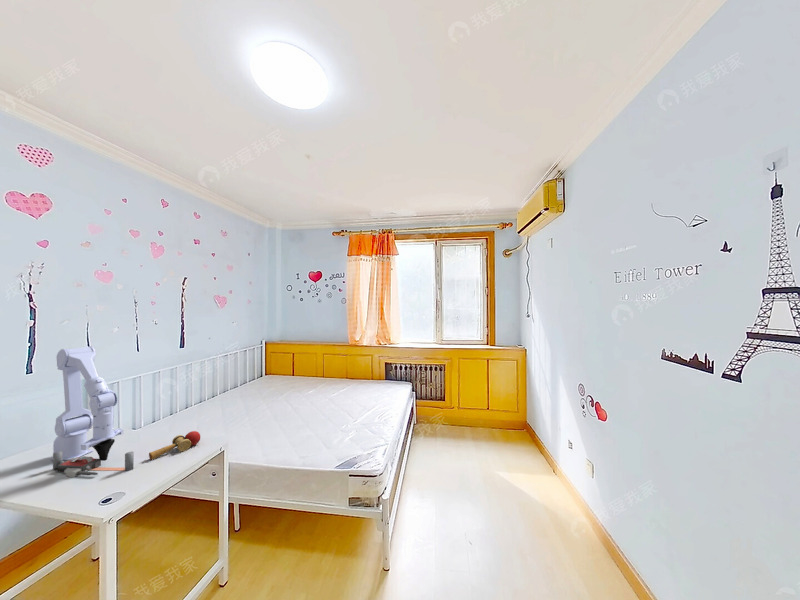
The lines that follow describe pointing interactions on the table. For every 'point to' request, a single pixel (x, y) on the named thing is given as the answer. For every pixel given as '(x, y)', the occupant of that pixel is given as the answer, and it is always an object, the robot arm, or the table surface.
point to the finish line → (128, 466)
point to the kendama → (178, 444)
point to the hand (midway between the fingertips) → (103, 460)
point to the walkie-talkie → (78, 466)
